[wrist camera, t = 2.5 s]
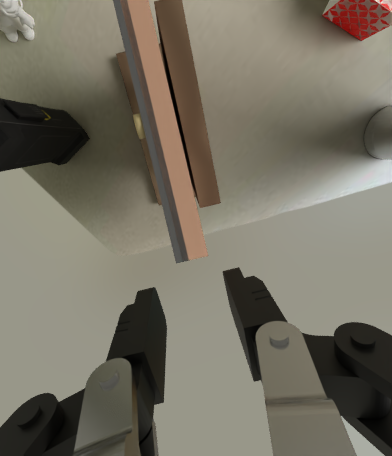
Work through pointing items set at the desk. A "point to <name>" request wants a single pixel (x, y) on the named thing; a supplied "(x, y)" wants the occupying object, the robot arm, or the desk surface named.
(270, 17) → the desk surface
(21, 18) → the hat wearing toy figure
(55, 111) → the portable radio
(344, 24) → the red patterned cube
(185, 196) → the picture frame
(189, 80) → the frame stand
